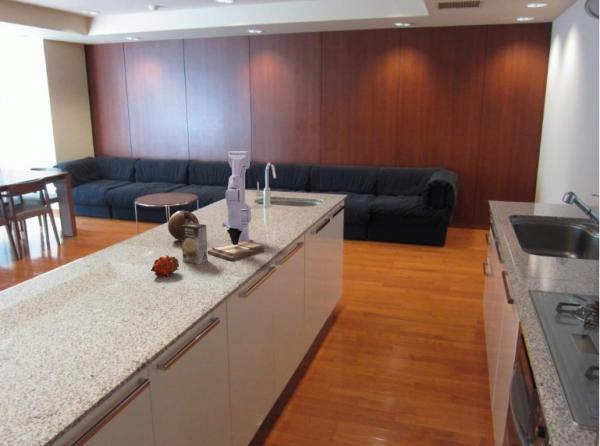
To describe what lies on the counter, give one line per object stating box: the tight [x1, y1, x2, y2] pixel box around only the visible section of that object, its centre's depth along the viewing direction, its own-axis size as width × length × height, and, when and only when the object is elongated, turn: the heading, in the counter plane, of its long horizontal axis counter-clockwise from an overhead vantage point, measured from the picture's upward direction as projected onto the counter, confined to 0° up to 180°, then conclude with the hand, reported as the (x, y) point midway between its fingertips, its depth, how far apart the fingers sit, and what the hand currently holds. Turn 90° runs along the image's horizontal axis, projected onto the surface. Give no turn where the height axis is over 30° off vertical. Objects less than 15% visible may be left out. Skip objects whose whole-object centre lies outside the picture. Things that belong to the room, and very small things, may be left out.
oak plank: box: [212, 242, 250, 256], centre depth 221 cm, size 14×10×1 cm
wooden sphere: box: [167, 210, 200, 242], centre depth 242 cm, size 15×15×15 cm
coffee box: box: [181, 222, 208, 265], centre depth 210 cm, size 9×6×16 cm
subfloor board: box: [207, 240, 265, 262], centre depth 224 cm, size 16×20×3 cm
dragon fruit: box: [150, 254, 180, 277], centre depth 194 cm, size 8×8×12 cm
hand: (235, 244), depth 223 cm, fingers closed
